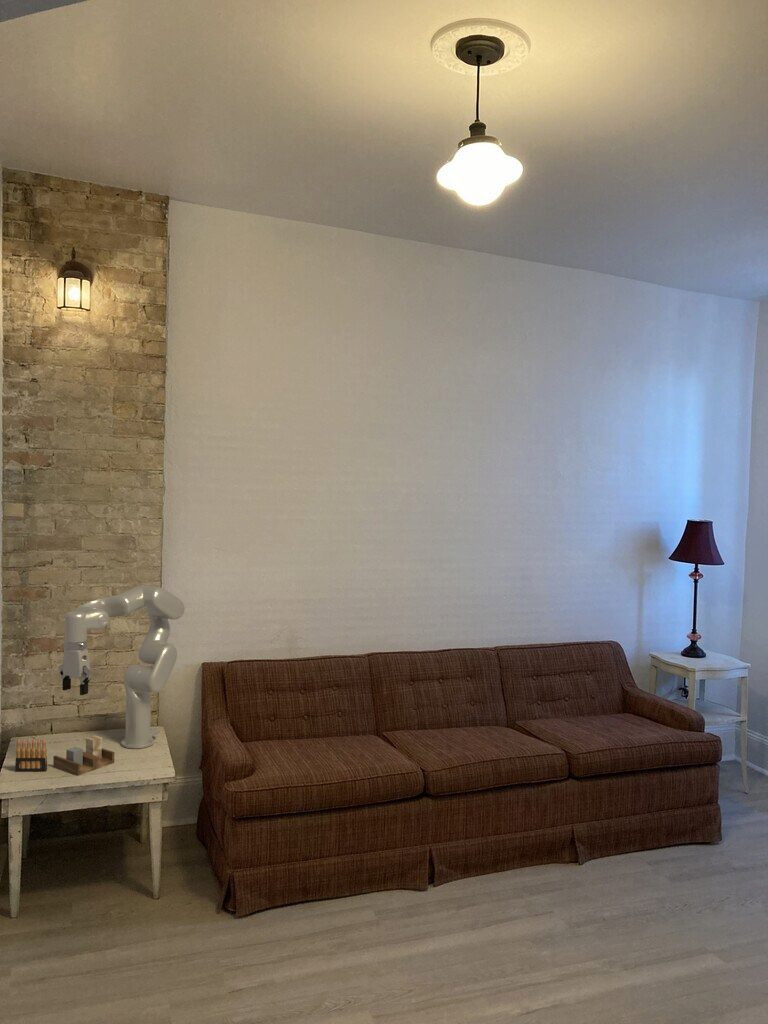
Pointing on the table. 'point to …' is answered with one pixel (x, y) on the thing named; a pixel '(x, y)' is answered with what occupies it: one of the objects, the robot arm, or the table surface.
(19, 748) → the ammunition clip
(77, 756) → the rubber block
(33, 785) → the table surface
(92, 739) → the birch block
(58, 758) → the slot rack
